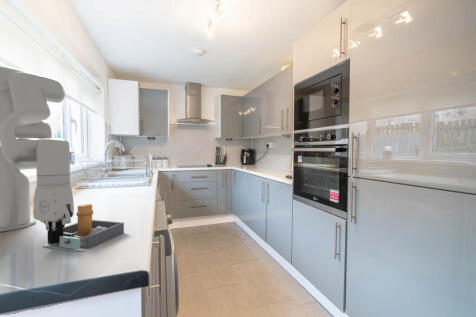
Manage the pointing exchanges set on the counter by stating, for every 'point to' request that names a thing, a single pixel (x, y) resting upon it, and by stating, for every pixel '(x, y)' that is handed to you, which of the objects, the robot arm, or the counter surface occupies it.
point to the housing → (92, 234)
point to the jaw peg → (84, 219)
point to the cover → (70, 242)
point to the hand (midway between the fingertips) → (55, 242)
